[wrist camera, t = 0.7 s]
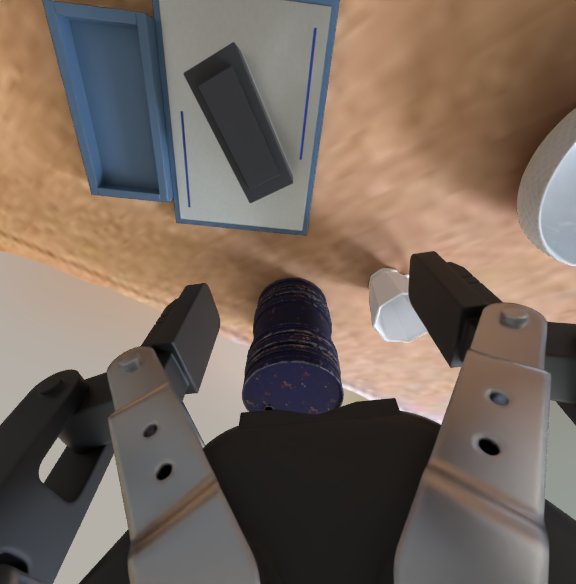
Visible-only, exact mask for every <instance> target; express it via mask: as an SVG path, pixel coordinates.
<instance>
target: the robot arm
mask: <svg viewBox="0 0 576 584" xmlns="http://www.w3.org/2000/svg"><path fill="white" fill-rule="evenodd" d="M408 295H409V300H410V303H411V305H412V307H413V309H414V310H415V312H416V313H417V315H418V317H419V318H420V320H421V321H422V323H423V324H424V326H425V328H426V329H427V331H428V332H429V334H430V336H431V337H432V339H433V340H434V342H435V344H436V345H437V347H438V348H439V350H440V352H441V353H442V355H443V356H444V358H445V360H446V361H447V363H448V364H449V366H450V368H453V367H461V370H460V373H459V376H458V379H457V381H456V384H455V387H454V390H453V393H452V396H451V399H450V402H449V405H448V407H447V410H446V413H445V416H444V419H443V422H442V425H440V424H438V423H436V422H434V421H432V420H430V419H428V418H425V417H423V416H420V415H417V414H413V413H409V412H404V411H400V410H399V407H398V405H397V402H396V399H395V398H391V399H381V400H370V401H361V402H354V403H351V404H348V405H345V406H342V407H339V408H336V409H333V410H330V411H327V412H324V413H322V414H317V415H313V414H306V413H299V412H292V411H285V410H279V409H275V410H265V411H254V412H245V413H241V416H240V422H239V426H236V427H234V428H232V429H229V430H227V431H225V432H224V433H222V434H220V435H219V436H217V437H216V438H214V439H213V440H212V441H210V442H209V443H208V444H207V445H206V446H205V444H204V442H203V440H202V438H201V436H200V434H199V432H198V430H197V428H196V426H195V424H194V422H193V420H192V419H191V417H190V415H189V413H188V411H187V409H186V407H185V405H184V403H183V401H182V400H183V398H184V395H185V394H192V393H198V391H199V388H200V385H201V382H202V379H203V376H204V373H205V370H206V367H207V364H208V361H209V358H210V355H211V352H212V349H213V346H214V343H215V340H216V337H217V334H218V331H219V328H220V318H219V314H218V311H217V308H216V305H215V302H214V300H213V297H212V294H211V291H210V289H209V287H208V285H207V284H206V283H201V284H194V285H188V286H186V287H185V289H184V290H183V292H182V293H181V295H180V297H179V298H178V299H175V300H174V301H173V302H172V303H170V304H169V305H168V306H167V307H166V308H165V310H164V311H163V313H162V314H161V317H160V318H159V319H158V320H157V322H156V325H154V327H153V328H152V330H151V331H150V333H149V334H148V336H147V337H146V339H145V340H144V342H143V344H142V345H141V346H140V347H136V348H133V349H130V350H128V351H126V352H124V353H123V354H121V355H119V356H118V357H117V358H116V359H115V360H114V361H113V362H112V363H111V364H110V365H109V367H108V369H107V372H106V373H103V374H100V375H97V376H94V377H91V378H88V379H86V380H84V379H83V378H82V376H81V375H80V374H79V372H78V371H76V370H65V371H61V372H58V373H56V374H54V375H52V376H50V377H48V378H46V379H45V380H43V381H42V382H40V383H39V384H38V385H36V386H35V387H34V388H33V389H32V390H31V391H30V392H29V393H28V394H27V396H26V397H25V398H24V399H23V400H22V401H21V402H20V403H19V405H18V406H17V407H16V408H15V409H14V410H13V412H12V413H11V414H10V415H9V416H8V417H7V418H6V419H5V421H4V422H3V423H2V424H1V425H0V584H53V582H54V580H55V578H56V576H57V574H58V571H59V569H60V567H61V565H62V563H63V561H64V558H65V556H66V554H67V552H68V550H69V548H70V546H71V544H72V541H73V539H74V537H75V535H76V533H77V531H78V529H79V527H80V525H81V522H82V520H83V518H84V516H85V514H86V512H87V510H88V507H89V505H90V503H91V501H92V499H93V497H94V495H95V493H96V490H97V488H98V486H99V484H100V482H101V480H102V478H103V476H104V473H105V471H106V469H107V467H108V465H109V463H110V460H111V458H112V456H113V454H115V459H116V465H117V470H118V475H119V481H120V486H121V491H122V496H123V502H124V508H125V513H126V518H127V523H128V528H129V529H128V530H127V531H126V532H125V534H124V535H123V536H122V537H121V538H120V539H119V540H118V541H117V543H115V545H114V546H113V547H112V548H111V549H110V550H109V551H108V552H107V553H106V554H105V556H104V557H103V558H102V559H101V560H100V561H99V562H98V563H97V564H96V565H95V566H94V568H93V569H92V570H91V571H90V572H89V573H88V574H87V575H86V576H85V577H84V578H83V580H82V581H81V582H80V583H79V584H576V520H574V519H573V518H571V517H570V516H568V515H567V514H566V513H564V512H563V511H562V510H560V509H559V508H557V507H556V506H555V505H553V504H552V503H550V502H549V501H548V500H546V499H545V487H546V465H547V447H548V429H549V410H550V400H553V401H556V402H557V403H558V405H559V406H560V407H561V408H562V409H563V411H564V412H565V413H566V414H567V415H568V417H569V418H570V419H571V420H572V421H573V422H574V424H575V425H576V324H567V323H554V322H547V321H546V319H545V318H544V316H543V315H541V314H540V313H539V312H537V311H535V310H534V309H532V308H529V307H526V306H523V305H519V304H515V303H503V302H502V301H501V300H500V299H499V298H497V297H496V296H495V295H494V294H493V293H492V292H491V291H490V290H488V289H487V288H486V287H485V286H484V285H483V284H482V283H480V282H479V281H478V280H477V279H476V278H475V277H473V276H472V274H471V273H469V272H468V271H467V270H466V269H465V268H464V267H461V266H459V265H457V264H454V263H452V262H447V263H446V262H445V261H444V260H443V259H442V258H441V257H440V256H439V255H438V254H437V253H436V252H434V251H431V252H424V253H417V254H412V256H411V259H410V271H409V286H408ZM57 437H59V438H60V439H61V440H62V441H63V442H64V443H65V444H66V445H67V447H66V449H65V450H64V452H63V453H62V455H61V457H60V458H59V460H58V461H57V463H56V464H55V466H54V468H53V469H52V471H51V473H50V474H49V476H48V477H47V479H46V481H45V482H44V484H43V483H42V482H41V481H40V479H39V467H40V464H41V462H42V460H43V458H44V457H45V455H46V454H47V452H48V451H49V449H50V448H51V446H52V445H53V443H54V442H55V440H56V439H57Z"/></svg>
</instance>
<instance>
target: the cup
mask: <svg viewBox="0 0 576 584" xmlns="http://www.w3.org/2000/svg"><path fill="white" fill-rule="evenodd" d="M408 286H409V274H405V275H402V274H400V273H398V272H397V270H396V269H392V268H381V269H380V270H378V271H377V272H375V273H374V274H372V275H371V277H370V281H369V284H368V288H369V289H370V291H369V304H370V311H371V318H372V325H373V328H374V329H375V330H376V331H377V332H378V333H379V334H380V335H381V337H382V338H383V339H384V340H385V341H394V342H411V341H412V340H414V339H416V338H418V337H420V336H422V335H424V334H425V333H427V332H428V331H427V329H426V328H425V326H424V324H423V323H422V321H421V320H420V318H419V317H418V315H417V313H416V312H415V310H414V309H413V307H412V305H411V303H410V300H409V295H408Z"/></svg>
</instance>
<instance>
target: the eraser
mask: <svg viewBox="0 0 576 584" xmlns="http://www.w3.org/2000/svg"><path fill="white" fill-rule="evenodd" d="M183 74H184V77H185V78H186V80H187V82H188V84H189V86H190V88H191V90H192V92H193V94H194V96H195V98H196V100H197V102H198V104H199V106H200V108H201V110H202V112H203V114H204V115H205V117H206V119H207V121H208V123H209V125H210V127H211V129H212V131H213V133H214V135H215V137H216V139H217V141H218V143H219V145H220V147H221V149H222V151H223V152H224V154H225V156H226V158H227V160H228V162H229V164H230V166H231V168H232V170H233V172H234V174H235V176H236V178H237V180H238V182H239V184H240V186H241V188H242V190H243V191H244V193H245V195H246V197H247V199H248V201H249V203H253V202H255V201H257V200H259V199H261V198H263V197H265V196H268V195H270V194H272V193H274V192H276V191H278V190H280V189H282V188H285V187H287V186H289V185H291V184H293V174H292V172H291V169H290V167H289V164H288V162H287V159H286V157H285V155H284V152H283V150H282V147H281V145H280V143H279V140H278V138H277V135H276V133H275V131H274V128H273V126H272V123H271V121H270V118H269V116H268V114H267V111H266V109H265V106H264V104H263V102H262V99H261V97H260V94H259V92H258V89H257V87H256V85H255V82H254V80H253V77H252V75H251V73H250V70H249V68H248V65H247V63H246V60H245V58H244V56H243V53H242V51H241V50H240V49H239V48H238V46H237V45H236V44H235V43H234V42H232V43H231V44H229V45H228V46H226V47H224V48H223V49H221V50H219V51H218V52H216V53H215V54H213V55H211V56H210V57H208V58H207V59H205V60H203V61H202V62H200V63H199V64H197V65H195V66H194V67H192V68H191V69H189V70H187V71H186V72H184V73H183Z"/></svg>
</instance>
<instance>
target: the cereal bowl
mask: <svg viewBox="0 0 576 584" xmlns="http://www.w3.org/2000/svg"><path fill="white" fill-rule="evenodd" d="M517 214H518V217H519V223H520V225H521V228H522V229H523V231H524V233H525V235H526V236H527V238H528V239H529V240H530V241H531V242H532V244H534V245H535V246H536V247H537V248H538V249H540V250H541V251H542V252H544V253H546V254H547V255H548V256H550V257H552V258H553V259H555V260H558V261H560V262H562V263H564V264H567V265H571V266H575V267H576V108H575V109H573V110H572V111H571V112H570V113H569V114H568V115H566V116H565V118H563V119H562V120H561V121H560V122H559V123H558V124H557V125H556V126H555V128H554V129H553V130H552V131H550V133H549V134H548V135H547V136H546V138H545V139H544V140H543V141H542V142H541V144H540V145H539V146H538V148H537V150H536V151H535V153H534V155H533V156H532V157H531V160H530V162H529V163H528V165H527V167H526V169H525V172H524V174H523V177H522V178H521V182H520V187H519V189H518V196H517Z"/></svg>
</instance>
